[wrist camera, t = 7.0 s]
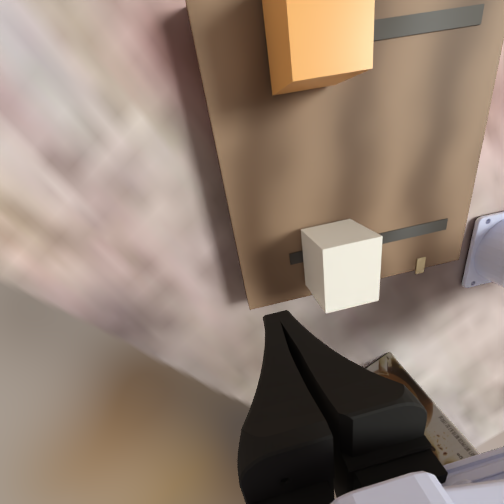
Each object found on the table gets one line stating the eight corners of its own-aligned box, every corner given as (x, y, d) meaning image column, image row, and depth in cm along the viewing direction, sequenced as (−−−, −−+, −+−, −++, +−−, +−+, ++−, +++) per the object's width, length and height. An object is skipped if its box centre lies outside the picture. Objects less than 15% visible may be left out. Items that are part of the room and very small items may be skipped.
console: (493, -65, 16) (532, -92, 14) (440, 254, 26) (458, 263, 24) (179, -26, 14) (175, -52, 13) (247, 300, 24) (250, 314, 22)
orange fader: (331, -23, 14) (377, -82, 10) (334, 85, 16) (372, 68, 12) (260, -14, 13) (280, -71, 10) (272, 95, 15) (292, 81, 12)
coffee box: (351, 413, 34) (461, 619, 19) (328, 392, 31) (434, 610, 17) (409, 375, 33) (574, 564, 18) (390, 349, 30) (563, 545, 16)
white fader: (350, 218, 20) (382, 236, 16) (350, 274, 22) (378, 300, 18) (300, 229, 19) (322, 249, 16) (305, 284, 21) (325, 313, 18)
